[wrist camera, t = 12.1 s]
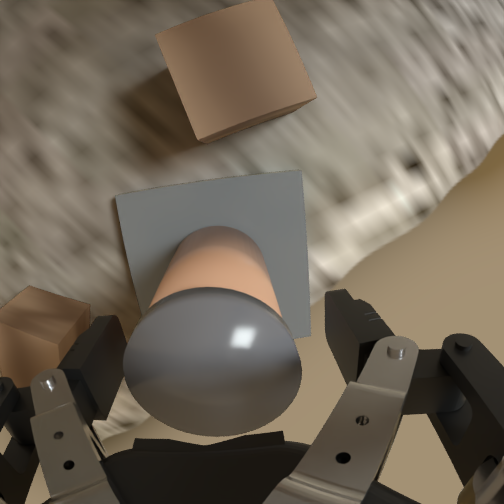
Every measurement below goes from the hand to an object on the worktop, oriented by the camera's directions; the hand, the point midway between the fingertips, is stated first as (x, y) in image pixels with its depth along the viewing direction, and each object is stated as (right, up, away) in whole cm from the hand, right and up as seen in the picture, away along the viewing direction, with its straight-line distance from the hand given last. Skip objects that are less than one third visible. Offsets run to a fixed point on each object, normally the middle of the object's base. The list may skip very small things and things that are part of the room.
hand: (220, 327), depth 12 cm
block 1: (-12, -2, +7) cm, 15 cm away
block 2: (0, +12, +4) cm, 12 cm away
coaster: (-1, +2, +7) cm, 7 cm away
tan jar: (-1, +2, +6) cm, 6 cm away
